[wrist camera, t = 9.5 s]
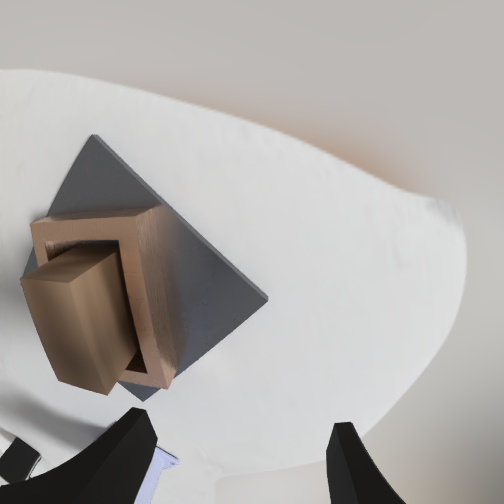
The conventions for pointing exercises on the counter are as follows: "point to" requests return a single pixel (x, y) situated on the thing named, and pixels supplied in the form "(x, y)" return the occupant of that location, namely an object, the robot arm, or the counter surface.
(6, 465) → the battery charger
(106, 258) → the block
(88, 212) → the duct collar
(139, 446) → the robot arm
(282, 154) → the counter surface
